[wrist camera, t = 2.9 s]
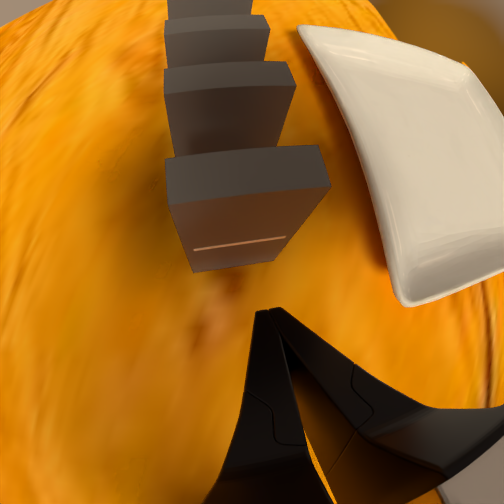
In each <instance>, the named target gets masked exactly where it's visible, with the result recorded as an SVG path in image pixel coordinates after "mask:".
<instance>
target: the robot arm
mask: <svg viewBox="0 0 504 504" xmlns="http://www.w3.org/2000/svg"><path fill="white" fill-rule="evenodd" d="M303 428H304V429H303ZM304 430H305V432H306V435H307V437H308V439H309V442H310V444H311V446H312V448H313V451H314V453H315V455H316V457H317V460H318V462H319V464H320V466H321V469H322V471H323V473H324V475H325V477H326V480H327V482H328V484H329V486H330V489H331V491H332V493H333V495H334V497H335V500H336V502H337V504H504V404H503V405H501V406H498V407H494V408H483V409H438V408H432V407H429V406H426V405H423V404H421V403H419V402H417V401H415V400H413V399H412V398H410V397H408V396H406V395H404V394H403V393H401V392H399V391H397V390H395V389H394V388H392V387H390V386H388V385H387V384H385V383H383V382H382V381H380V380H378V379H377V378H375V377H374V376H372V375H371V374H369V373H368V372H366V371H365V370H364V369H362V368H361V367H360V366H358V365H357V364H354V362H353V361H351V360H350V359H349V358H347V357H346V356H345V355H343V354H342V353H341V352H339V351H338V350H337V349H335V348H334V347H333V346H331V345H330V344H329V343H327V342H326V341H325V340H323V339H322V338H321V337H319V336H318V335H317V334H315V333H314V332H313V331H311V330H310V329H309V328H308V327H306V326H305V325H304V324H302V323H301V322H300V321H298V320H297V319H296V318H295V317H293V316H292V315H291V314H289V313H288V312H287V311H285V310H284V309H283V308H281V307H276V308H271V309H269V310H267V309H265V310H260V311H256V312H255V317H254V324H253V331H252V338H251V345H250V352H249V358H248V365H247V372H246V378H245V385H244V392H243V397H242V404H241V409H240V414H239V418H238V421H237V425H236V428H235V432H234V435H233V437H232V440H231V443H230V446H229V449H228V452H227V455H226V458H225V461H224V463H223V466H222V469H221V471H220V473H219V476H218V478H217V480H216V482H215V484H214V485H213V487H212V488H211V490H210V491H209V493H208V494H207V496H206V497H205V499H204V500H203V502H202V503H201V504H334V503H333V501H332V499H331V498H330V496H329V494H328V492H327V490H326V488H325V486H324V484H323V482H322V481H321V479H320V477H319V475H318V473H317V471H316V469H315V467H314V465H313V463H312V460H311V457H310V454H309V450H308V447H307V442H306V438H305V433H304Z"/></svg>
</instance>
